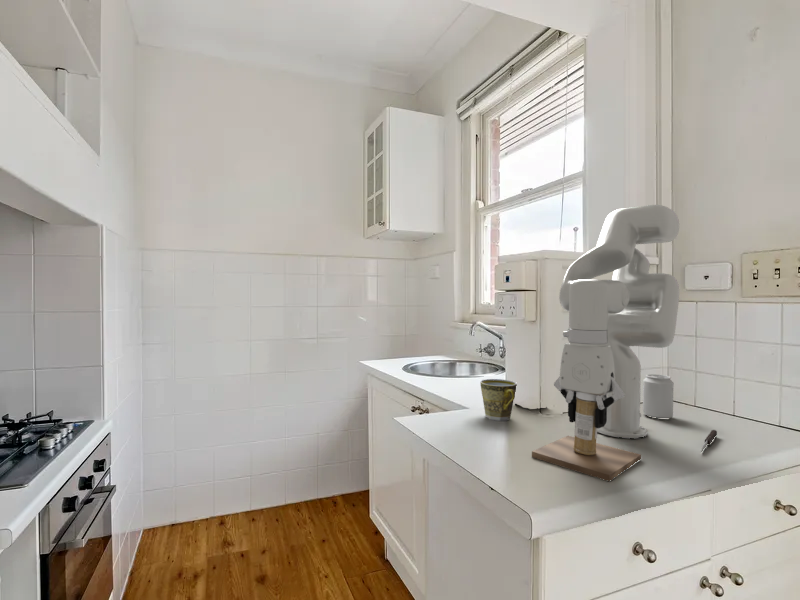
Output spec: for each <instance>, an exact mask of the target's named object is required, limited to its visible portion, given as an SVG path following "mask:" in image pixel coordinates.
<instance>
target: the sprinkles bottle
mask: <svg viewBox="0 0 800 600" xmlns="http://www.w3.org/2000/svg"><path fill="white" fill-rule="evenodd" d="M576 397H577V398H576V399H577V403H576V415H575V422H574V437H575V438H574V439H575V440H574V447H573V449H574V450H575V451H576V452H578V453H580V454H584V455H594V454H595V453H596V443H597V438H598V432H597V428H596V427H595V409H597V408H598V405H597V401H596V397H595V395H592V394H587V393H581V392H576Z"/></svg>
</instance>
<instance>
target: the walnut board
mask: <svg viewBox="0 0 800 600" xmlns="http://www.w3.org/2000/svg"><path fill="white" fill-rule="evenodd" d="M574 438H575V436H572V435H571V436H570V435H566V436H564V437H561V438H560V439H557V440H555V441H553V442H550V443H548V444H546V445H543V446H541V447H539V448H536V449H534V450H532V451H531V458H534V459H537V460H540V461H544V462H546V463H550V464H552V465H556V466H560V467H562V468H565V469H568V470H572V471H575V472H578V473H582V474H583V475H587V476H590V477H594V478H596V477H597V479H600V478H601V479H600V480H603V479H604V481H606V480H608V481H607V482H609V481H610V480H611V481H612V479H613V478H614V477H616V476H617V475H618V474H620V473H621V472H623V471H624V470H626V469H627V468H629V467H630V466H631V465H633V464H634V463H635V462H637V461H638V460H640V459H641V460H642V454H641V453H637V452H633V451H628V450H624V449H620V448H619V447H613V446H610V445H609V446H608V445H606V444H602V443H598V442H596V453H595V454H594V455H584V454H580V453H578V452H576V451H575V450H574V449H573V447H574V440H575V439H574ZM633 466H634V465H633ZM629 469H630V468H629ZM626 471H627V470H626ZM623 473H624V472H623ZM620 475H621V474H620ZM617 477H618V476H617ZM617 477H616V478H617ZM614 479H615V478H614ZM614 479H613V480H614ZM611 481H610V482H611Z"/></svg>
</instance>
